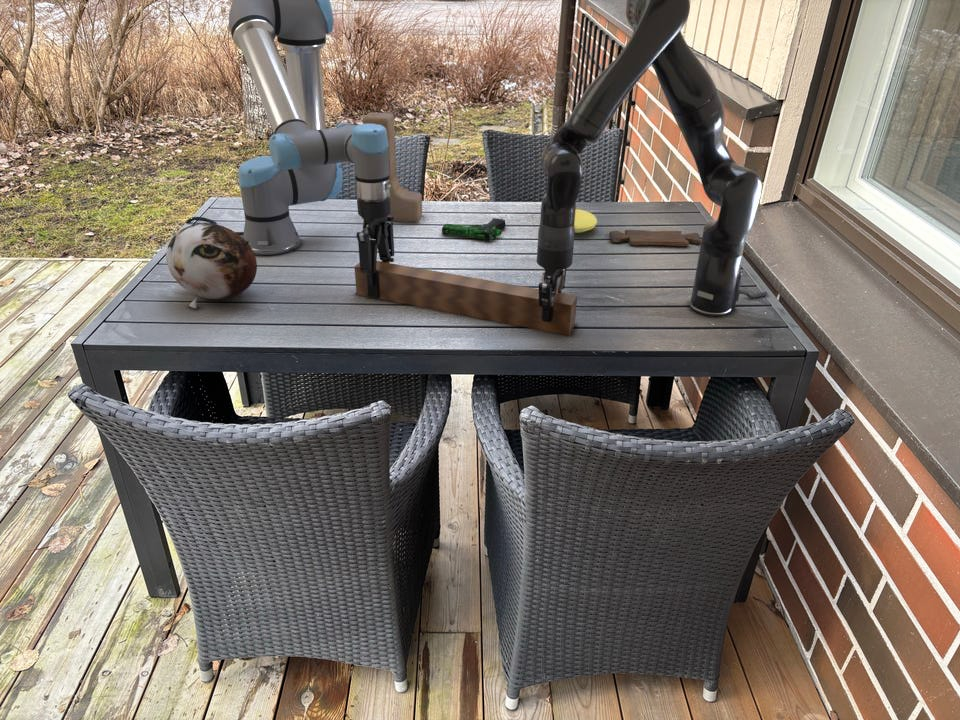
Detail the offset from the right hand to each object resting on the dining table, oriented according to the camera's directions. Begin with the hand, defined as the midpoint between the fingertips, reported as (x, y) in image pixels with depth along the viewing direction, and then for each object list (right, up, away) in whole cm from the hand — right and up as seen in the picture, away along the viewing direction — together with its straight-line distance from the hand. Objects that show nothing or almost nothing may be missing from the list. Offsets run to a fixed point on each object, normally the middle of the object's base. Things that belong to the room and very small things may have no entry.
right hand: (550, 315), depth 157 cm
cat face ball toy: (-77, +5, +12) cm, 79 cm away
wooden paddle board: (+35, +24, +47) cm, 63 cm away
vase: (+11, +29, +54) cm, 62 cm away
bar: (-20, +2, +8) cm, 21 cm away
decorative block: (-41, +33, +60) cm, 80 cm away
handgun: (-17, +27, +51) cm, 60 cm away
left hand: (-40, +6, +14) cm, 42 cm away
